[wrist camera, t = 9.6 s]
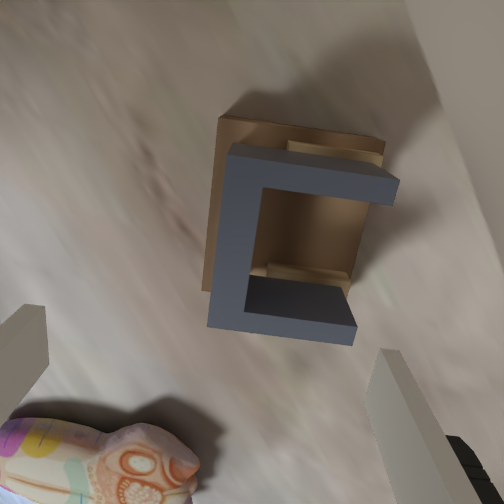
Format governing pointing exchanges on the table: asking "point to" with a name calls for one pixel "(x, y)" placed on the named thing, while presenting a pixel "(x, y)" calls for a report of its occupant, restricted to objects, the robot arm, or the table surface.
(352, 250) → the stand
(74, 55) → the table surface
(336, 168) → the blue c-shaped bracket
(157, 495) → the sculpture
